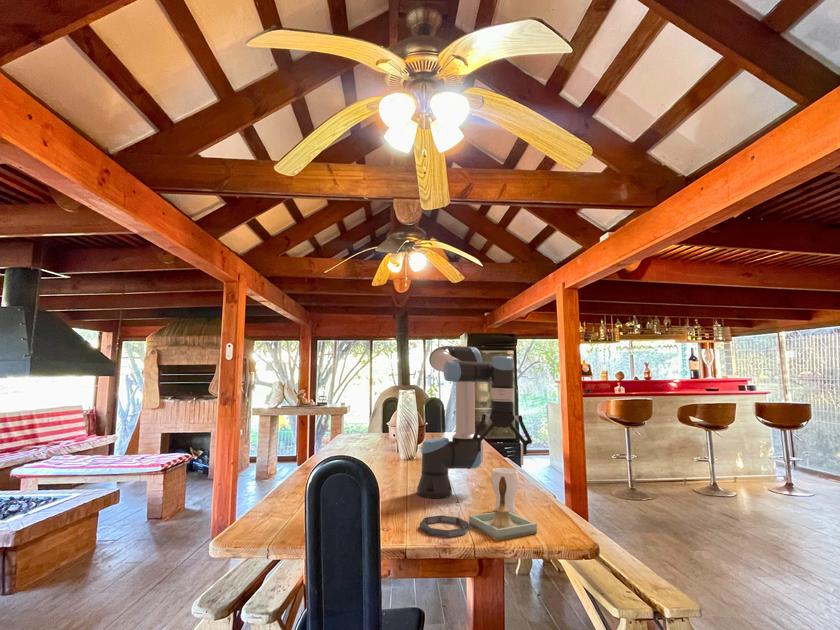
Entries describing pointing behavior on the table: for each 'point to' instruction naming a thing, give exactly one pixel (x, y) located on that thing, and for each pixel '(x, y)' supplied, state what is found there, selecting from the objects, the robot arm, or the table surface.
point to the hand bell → (502, 509)
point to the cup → (511, 483)
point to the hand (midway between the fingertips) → (501, 463)
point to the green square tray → (519, 528)
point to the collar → (444, 532)
